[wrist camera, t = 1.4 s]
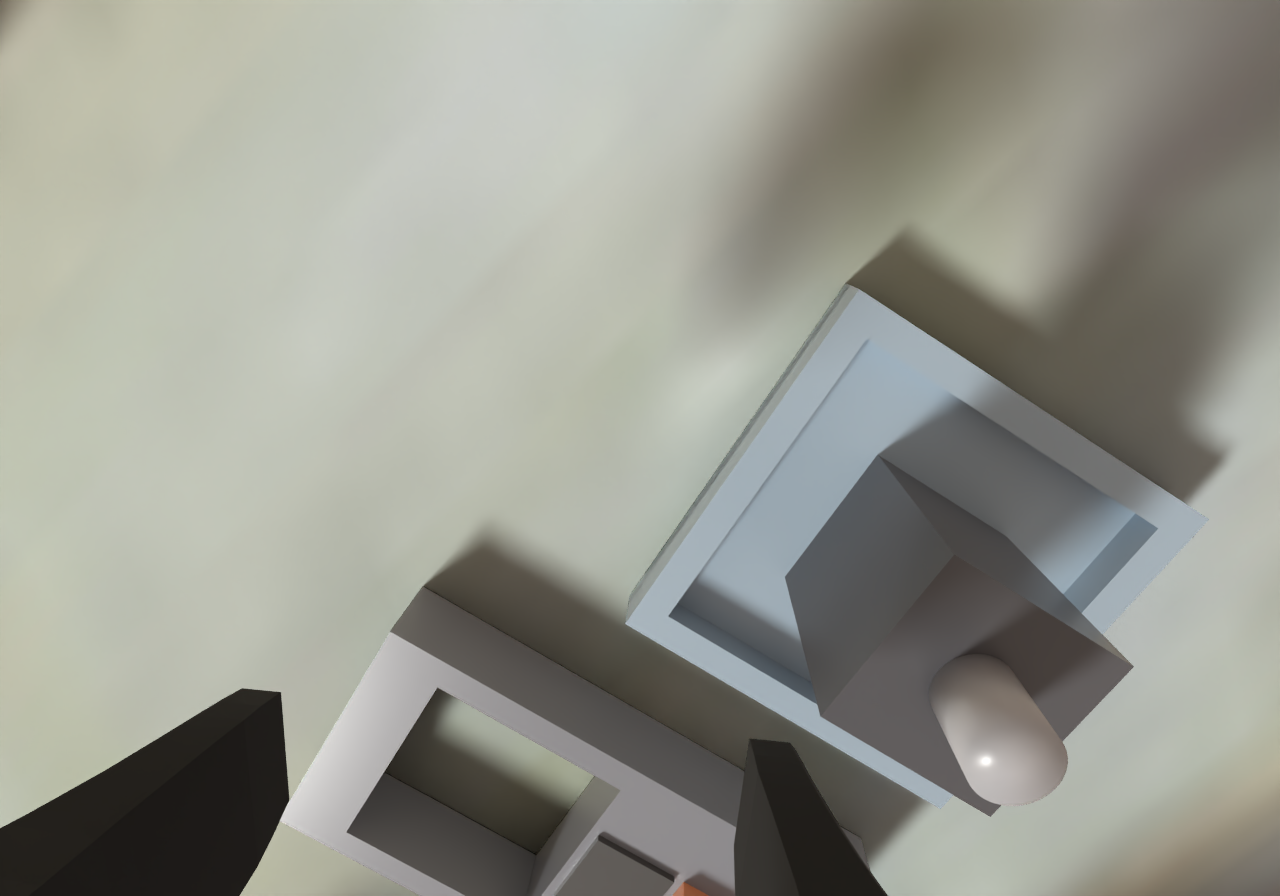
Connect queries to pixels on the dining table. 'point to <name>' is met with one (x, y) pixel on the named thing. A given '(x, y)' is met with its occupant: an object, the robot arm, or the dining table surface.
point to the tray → (923, 448)
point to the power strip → (550, 716)
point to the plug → (945, 643)
